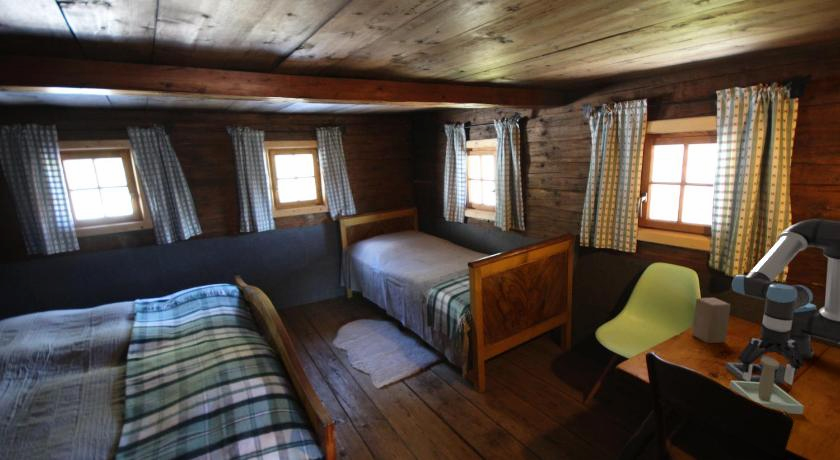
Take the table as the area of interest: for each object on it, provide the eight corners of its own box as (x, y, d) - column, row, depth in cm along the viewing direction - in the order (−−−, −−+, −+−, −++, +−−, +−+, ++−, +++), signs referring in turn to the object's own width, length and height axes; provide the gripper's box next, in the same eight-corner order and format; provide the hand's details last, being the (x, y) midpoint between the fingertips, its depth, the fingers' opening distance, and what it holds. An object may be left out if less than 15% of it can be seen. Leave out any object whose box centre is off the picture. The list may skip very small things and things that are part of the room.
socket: (764, 369, 160) (767, 354, 159) (785, 385, 150) (788, 368, 149) (725, 367, 163) (727, 352, 161) (742, 382, 152) (745, 366, 151)
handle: (755, 400, 140) (761, 363, 137) (755, 391, 145) (760, 355, 142) (773, 405, 137) (779, 367, 134) (772, 396, 142) (778, 359, 139)
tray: (772, 390, 147) (773, 383, 146) (802, 414, 133) (803, 406, 132) (729, 387, 149) (730, 380, 148) (754, 410, 135) (755, 402, 135)
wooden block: (690, 334, 193) (695, 297, 189) (709, 333, 194) (714, 296, 190) (707, 344, 183) (712, 305, 179) (726, 343, 184) (732, 304, 180)
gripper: (806, 324, 137) (797, 377, 141) (730, 321, 141) (723, 373, 145) (825, 334, 130) (814, 389, 134) (744, 330, 134) (736, 384, 138)
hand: (766, 381), depth 139 cm, fingers open, 13 cm apart
